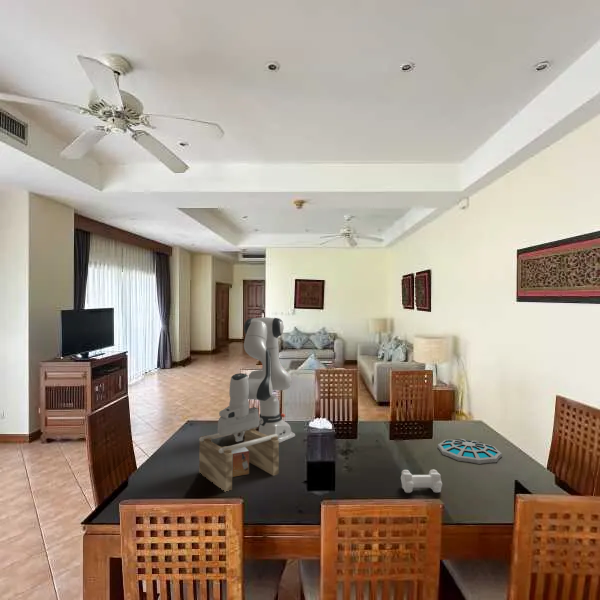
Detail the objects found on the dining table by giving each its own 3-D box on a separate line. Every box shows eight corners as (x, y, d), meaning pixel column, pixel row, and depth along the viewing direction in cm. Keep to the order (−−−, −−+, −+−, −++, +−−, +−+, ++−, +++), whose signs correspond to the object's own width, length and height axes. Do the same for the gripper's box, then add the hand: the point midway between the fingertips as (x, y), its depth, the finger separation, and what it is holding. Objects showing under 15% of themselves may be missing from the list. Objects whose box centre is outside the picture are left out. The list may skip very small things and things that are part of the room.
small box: (232, 477, 169) (232, 453, 170) (228, 472, 174) (228, 449, 175) (249, 474, 173) (249, 450, 173) (245, 469, 178) (245, 446, 178)
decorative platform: (459, 466, 182) (459, 456, 182) (427, 445, 211) (427, 436, 211) (515, 461, 189) (515, 451, 189) (476, 441, 217) (476, 432, 217)
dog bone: (435, 487, 162) (434, 467, 163) (443, 495, 153) (442, 474, 154) (400, 487, 161) (399, 467, 162) (406, 495, 153) (405, 474, 154)
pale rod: (254, 428, 191) (254, 424, 191) (256, 429, 190) (256, 425, 190) (198, 441, 172) (198, 437, 172) (200, 442, 171) (200, 438, 171)
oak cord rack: (249, 458, 192) (249, 424, 192) (278, 473, 173) (278, 437, 174) (199, 472, 174) (199, 436, 175) (225, 492, 156) (225, 451, 156)
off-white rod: (276, 437, 178) (276, 433, 178) (278, 438, 176) (278, 434, 176) (217, 453, 158) (217, 448, 158) (220, 454, 157) (220, 449, 157)
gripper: (254, 405, 184) (254, 434, 183) (215, 412, 170) (215, 444, 170) (262, 407, 179) (261, 437, 178) (222, 415, 166) (222, 448, 165)
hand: (239, 440), depth 174 cm, fingers closed
